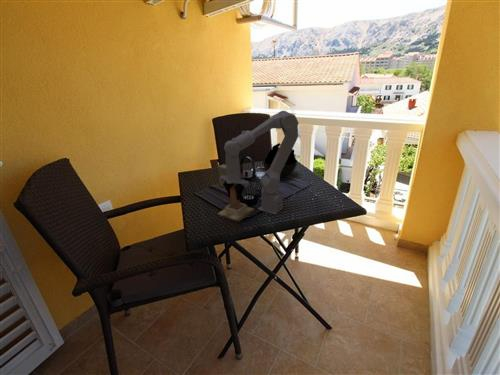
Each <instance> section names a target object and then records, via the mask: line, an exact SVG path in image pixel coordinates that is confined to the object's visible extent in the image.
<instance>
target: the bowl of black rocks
mask: <svg viewBox="0 0 500 375" xmlns="http://www.w3.org/2000/svg"><path fill="white" fill-rule="evenodd" d="M280 145H281V143H279V142H278V143H276V144H275V145H272V147H271V149H270V150H269V152H268V154H267V156H266V157H265V158H264V159H262V165H263V168H264V170H265V172H266V171H267V170H268V169H270V166H271V164H272V162H273V160H274V158H275V156H276V154H277V151H278V149H279V147H280ZM297 163H298V160H297V159H296V156H295V150H294V149H292V151H291V153H290V155H289V157H288V159H287V161H286V163H285V165H284V167H283V169H282V171H281V173H280V179H281V178H286V177H288V176H290V175H291V174H292V173H293V172H294V170H295V169H296V167H297Z"/></svg>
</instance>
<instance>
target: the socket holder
mask: <svg viewBox="0 0 500 375" xmlns="http://www.w3.org/2000/svg"><path fill="white" fill-rule="evenodd" d="M254 211H255V208H253V207H249V206H248V205H247V204H246V203H243V202H240V205H238V206H232V205H231V203H228V204H227V205H225V206H224V209H221V211H219V212H218V213H217V216H221V217H223V218H226V219H228V220H232V221H235V222H241V221H242V220H244V219H245V218H246V217H248V216H249V215H251V213H253V212H254Z"/></svg>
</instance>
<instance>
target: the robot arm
mask: <svg viewBox="0 0 500 375" xmlns="http://www.w3.org/2000/svg"><path fill="white" fill-rule="evenodd" d="M299 125H300V124H299V121H298V119H297V116H296V114H294V113H290V112H288V111H287V110H280V111H279V112H277V113H275V114H273V115H272V116H271V117H270V118H268V119H266V120H264V122H261V124H259V125H258V126H256V127H255V128H254V129H253V130H248V129H247V130H242V131H241V134H238V135H237V136H236V137H232V138H231V140H227V141H226V142H225V143H224V146H223V150H224V152H225V165H226V171H227V176H223V175H222V176H220V181H225V183H223V186H224V187H225V188H224V189H225V191H226V192H227V195H228V198H230V187H232V186H234V188H235V191H236V195H237V200H240V201H241V199H242V195H243V192H244V189H245V188H247V187H249V186H250V182H249V180H246V179H244V178H242V177H241V170H240V169H241V165H240V158H239V154H240V152H241V151H243V150H245V149H247V148H248V147H249V146H251V145H253V144H254V143H255V141H256V139H257V138H259V137H260V136H261V135H263V134H265V133H267V132H269V131H270V130H272V129H277V130H278V129H279V130H282V133H283V136H284V137H283V140H282V142H281V143H280V144H281V145H280V146H279V147H278V148H279V149H278V151H277V154H276V156H275V158H274V160H273V162H272V164H271V166H270V169H268V170H267V171H266V170H265V172H264V174H263V175H262V176H261V177H260V179H259V182H260V185H261V186H262V187H261V191H260V192H261V193H260V195H261V205H260V206H259V207H258V208H257V209H258V211H261V212H265V213H267V214H268V213H269V214H271V215H272V214H273V215H277V214H278V213H279V212H281V211H282V210H283V209H284V195H283V194H282V193H281V192H279V191H278V190H279V183H280V181H281V178H280V173H281V171H282V169H283V167H284V165H285V163H286V161H287V159H288V157H289V155H290V153H291V151H292V149H293V148H294V146H295V144H296V142H297V140H298V138H299V128H298V127H299ZM293 150H294V149H293ZM234 184H236V185H234ZM230 199H231V198H230Z"/></svg>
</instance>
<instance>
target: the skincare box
mask: <svg viewBox="0 0 500 375" xmlns="http://www.w3.org/2000/svg"><path fill="white" fill-rule="evenodd" d="M217 168H218V181H219V182H218V183H219V184H218V185H219V187H221V188H224V189H225V187H224V186H223V183H225V181H220V176H222V175H223V176H227V171H226V163H223V164H220V165H218V166H217Z"/></svg>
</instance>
